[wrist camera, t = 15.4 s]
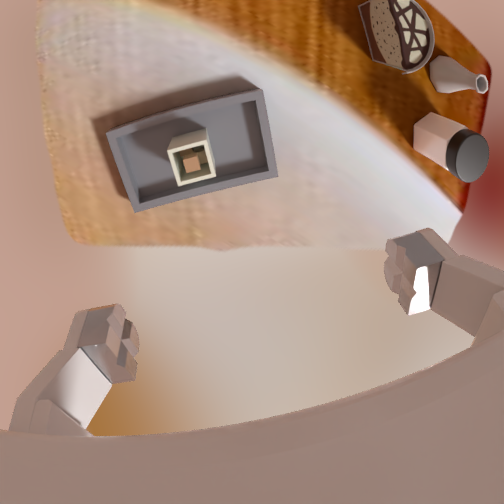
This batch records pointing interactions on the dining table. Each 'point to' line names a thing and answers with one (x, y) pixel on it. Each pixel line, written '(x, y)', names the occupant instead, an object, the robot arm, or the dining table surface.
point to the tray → (221, 139)
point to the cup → (192, 157)
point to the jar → (451, 146)
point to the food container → (398, 33)
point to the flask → (454, 76)
